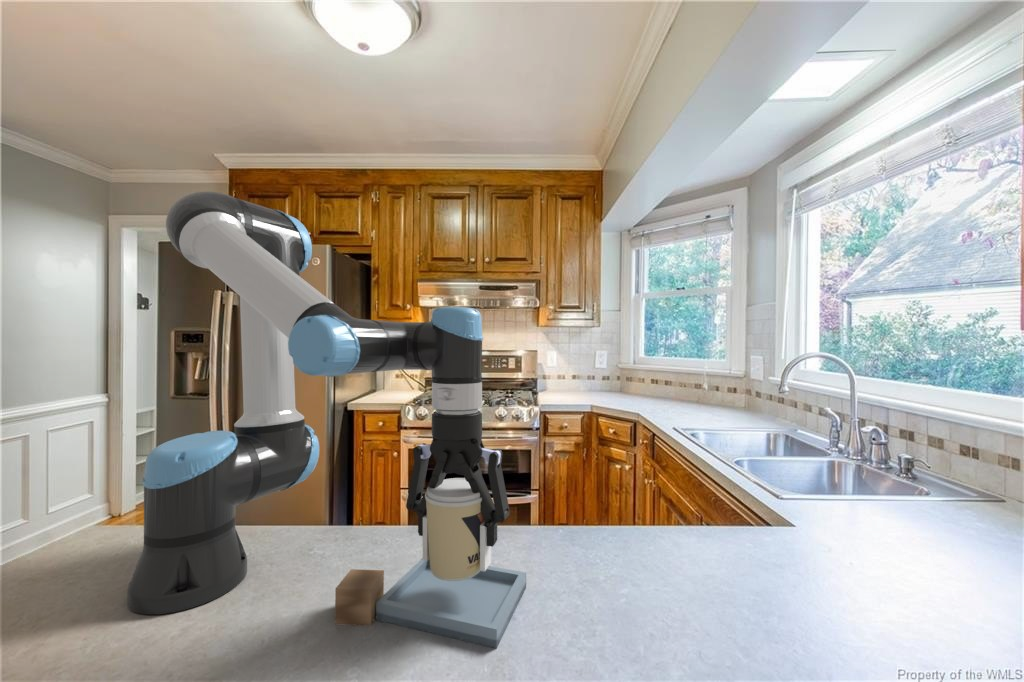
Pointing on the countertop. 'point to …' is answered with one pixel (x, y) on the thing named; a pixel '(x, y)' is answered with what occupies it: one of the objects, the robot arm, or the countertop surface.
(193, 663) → the countertop surface
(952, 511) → the countertop surface
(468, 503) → the coffee cup
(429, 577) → the collection tray
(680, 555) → the countertop surface
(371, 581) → the walnut block
